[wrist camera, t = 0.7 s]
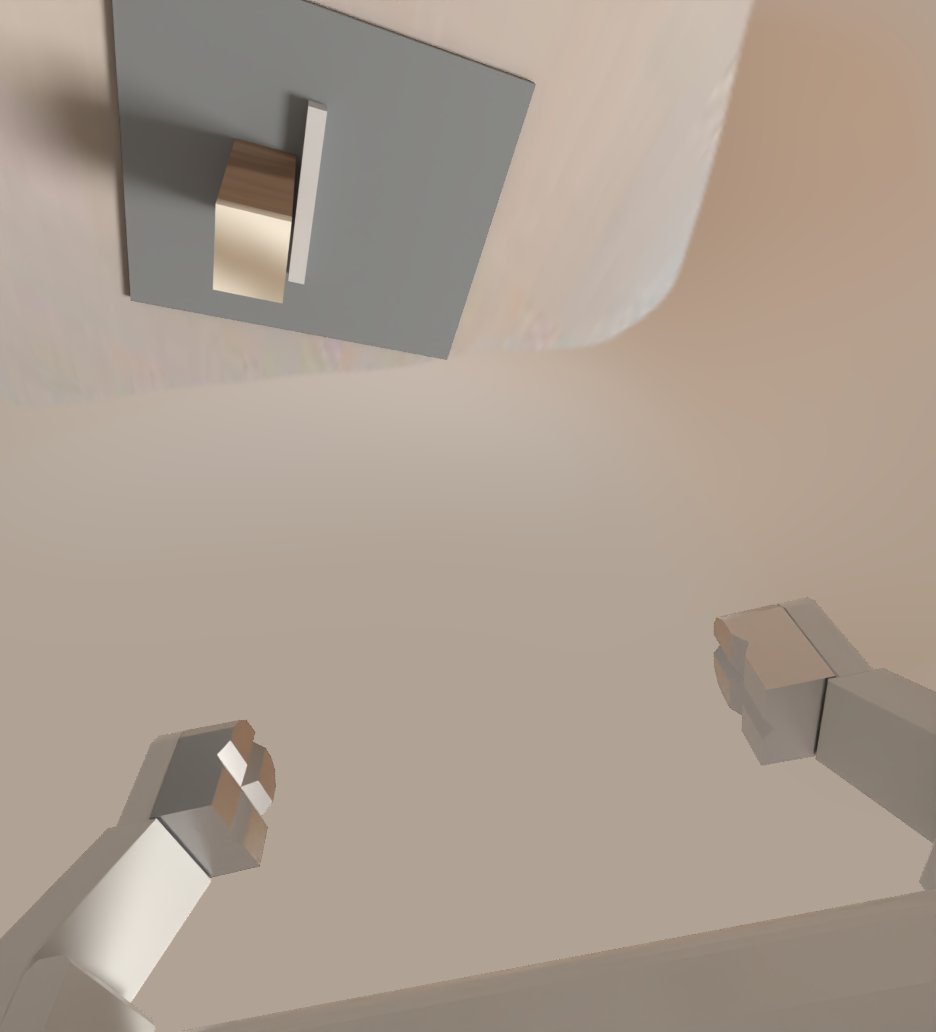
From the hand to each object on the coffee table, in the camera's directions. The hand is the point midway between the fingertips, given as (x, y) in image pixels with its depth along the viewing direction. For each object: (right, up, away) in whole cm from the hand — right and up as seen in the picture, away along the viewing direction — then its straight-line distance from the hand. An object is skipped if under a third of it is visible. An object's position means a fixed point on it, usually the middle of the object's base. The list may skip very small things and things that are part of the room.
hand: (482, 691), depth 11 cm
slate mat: (-11, +27, +35) cm, 46 cm away
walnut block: (-15, +27, +33) cm, 45 cm away
